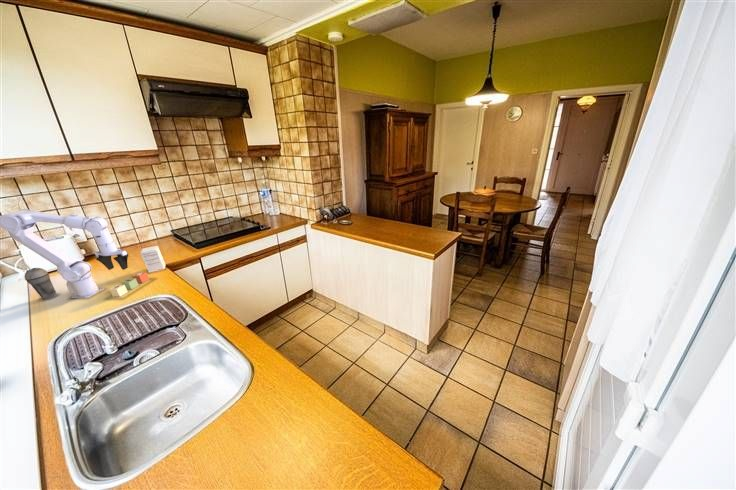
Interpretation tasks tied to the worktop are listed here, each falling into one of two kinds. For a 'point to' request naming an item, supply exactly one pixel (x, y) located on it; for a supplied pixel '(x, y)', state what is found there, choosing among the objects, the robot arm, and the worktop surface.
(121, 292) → the pale yellow cube
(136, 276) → the coral red cube
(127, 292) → the word mat
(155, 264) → the white packaging box
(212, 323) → the worktop surface
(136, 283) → the pale green cube
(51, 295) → the beverage cup
